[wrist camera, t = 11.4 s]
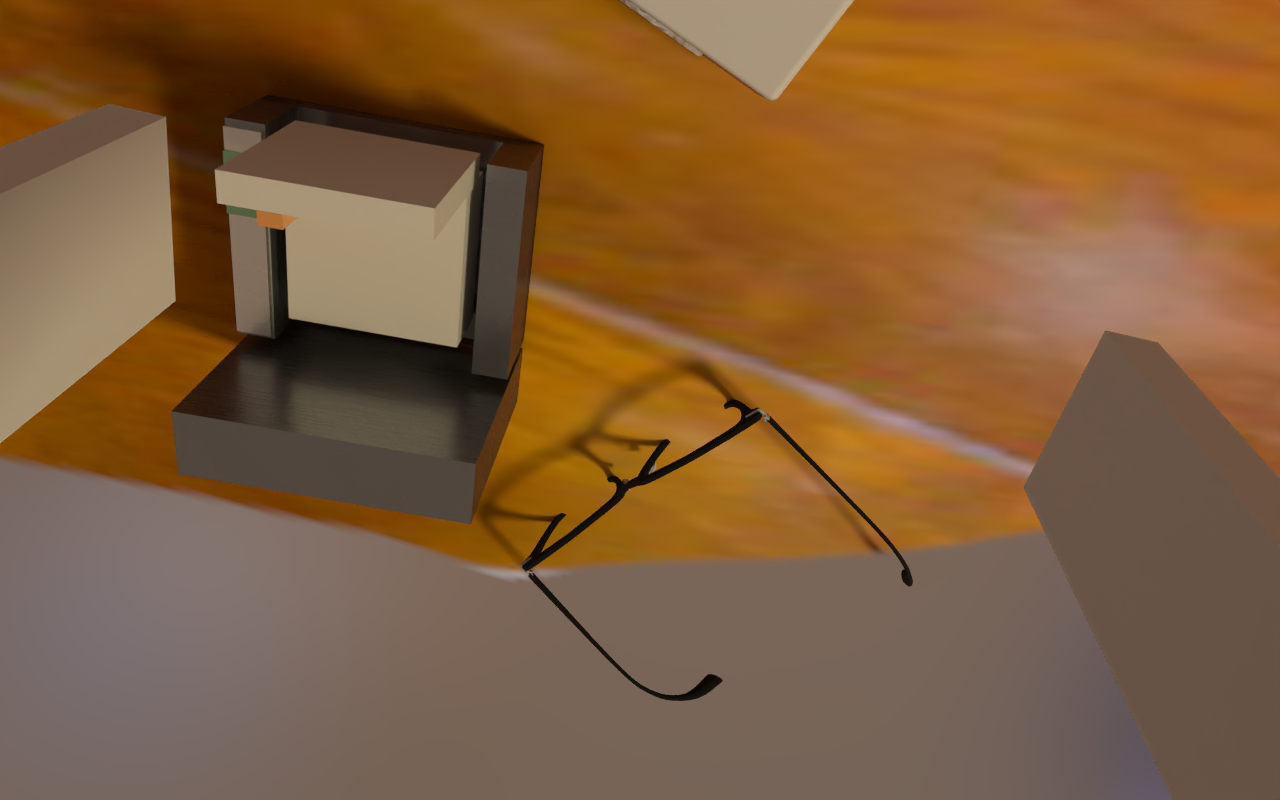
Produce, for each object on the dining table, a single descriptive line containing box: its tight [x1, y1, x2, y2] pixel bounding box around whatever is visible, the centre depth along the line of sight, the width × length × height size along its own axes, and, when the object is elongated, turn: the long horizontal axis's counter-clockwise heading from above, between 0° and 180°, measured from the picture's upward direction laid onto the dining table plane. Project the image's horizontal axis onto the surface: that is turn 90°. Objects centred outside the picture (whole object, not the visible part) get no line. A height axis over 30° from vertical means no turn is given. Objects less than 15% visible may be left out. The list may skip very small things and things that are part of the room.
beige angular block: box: [215, 120, 483, 347], centre depth 38 cm, size 8×8×8 cm
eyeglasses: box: [521, 400, 913, 701], centre depth 49 cm, size 16×16×4 cm
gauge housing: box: [171, 95, 544, 524], centre depth 39 cm, size 13×12×10 cm
